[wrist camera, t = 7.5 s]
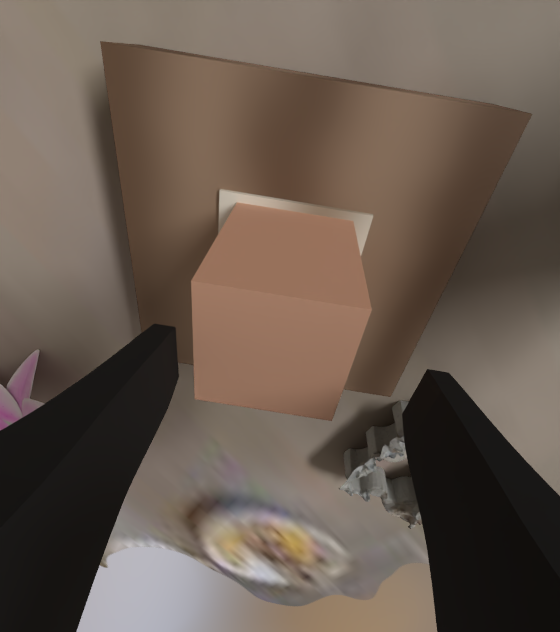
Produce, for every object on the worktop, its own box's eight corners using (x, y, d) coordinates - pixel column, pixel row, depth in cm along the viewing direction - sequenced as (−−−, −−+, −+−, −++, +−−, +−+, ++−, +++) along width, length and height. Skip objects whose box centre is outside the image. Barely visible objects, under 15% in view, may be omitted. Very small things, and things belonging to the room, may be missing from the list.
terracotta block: (353, 220, 13) (371, 310, 9) (328, 314, 16) (331, 420, 11) (236, 202, 13) (191, 280, 9) (231, 298, 16) (194, 399, 11)
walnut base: (494, 104, 13) (535, 114, 11) (382, 359, 22) (391, 399, 19) (139, 44, 13) (97, 40, 11) (164, 324, 22) (143, 359, 19)
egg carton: (400, 482, 31) (409, 533, 28) (327, 454, 29) (328, 504, 26) (497, 421, 25) (523, 477, 21) (412, 382, 23) (427, 435, 20)
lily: (138, 357, 25) (-9, 413, 17) (131, 490, 28) (2, 599, 19) (27, 320, 29) (-139, 350, 21) (31, 441, 32) (-114, 512, 23)
